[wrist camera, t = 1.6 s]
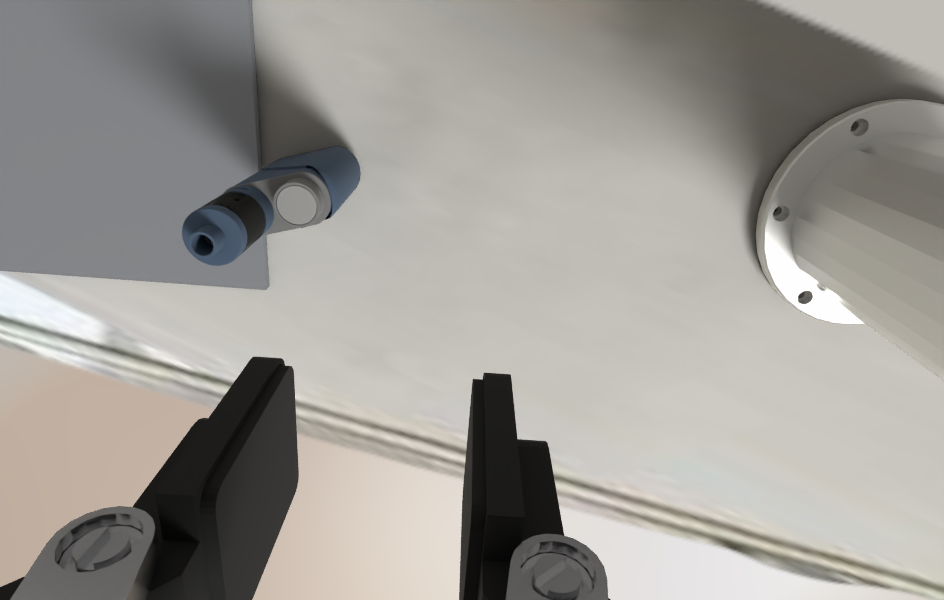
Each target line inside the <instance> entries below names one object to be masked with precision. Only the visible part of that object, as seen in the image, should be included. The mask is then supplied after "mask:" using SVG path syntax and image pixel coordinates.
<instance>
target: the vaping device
mask: <svg viewBox="0 0 944 600" xmlns="http://www.w3.org/2000/svg"><path fill="white" fill-rule="evenodd" d="M359 181H360V166H359V163H358V161H357V159H356V157H355V156H354V155H353V154H352V153H351V152H350V151H349V150H347V149H346V148H343V147H340V146H336V147H330V148H327V149H322V150H317V151H313V152H308V153H304V154H299V155H295V156H290V157H285V158H281V159H279V160H277V161H275V162H274V163H272V164H270V165H268V166H267V167H264V168H261V170H260V171H258V172H257V173H255V174H253V175H252V176H250V177H248V178H247V179H245V180H243V181H242V182H240V183H238V184H236V185H235V186H233V187H230V188H228V189H227V190H226V191H225V192H224V193H223V194H222V195H220V196H219V197H217V199H216V198H215V199H214V200H212V201H210V202H209V203H207V204H205V205H204V206H202V207H200V208H199V209H197V210H195V211H194V212H192V213H191V214H190V215H188V217H187V218H186V219H185V221H184V223H183V227H182V238H183V241H184V244H185V246H186V248H187V249H188V251H189V252H190V253H191V254H192V255H193V256H194V257H195V258H196V259H197V260H199V261H201V262H203V263H205V264H208V265H212V266H223V265H227V264H229V263H231V262H233V261H234V260H235V259H237V258H238V257H239V256H240V255H241V254H242V253H243V252H244V251H245V250H247V249H248V248H249V247H250V246H251V245H252V244H253V243H254V242H255V241H257V240H258V239H259V238H260V237H261V236H263V235H267V234H272V233H277V232H282V231H287V230H292V229H296V228H303V227H307V226H311V225H316V224H319V223H320V222H322V221H323V220H325V219H328V218H330V217H331V216H332V215H333V214H334V213H335V212H336V211H337V210H338V209H339V208H340V206H341V205H342V204H343V203H344V202H345V200H346V199H347V198H348V197H349V196H350V194H351V193H352V192H353V191H354V190H355V188H356V187H357V185H358V183H359ZM210 203H212V204H210ZM250 244H251V245H250ZM246 248H247V249H246Z"/></svg>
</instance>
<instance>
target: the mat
mask: <svg viewBox="0 0 944 600" xmlns="http://www.w3.org/2000/svg"><path fill="white" fill-rule="evenodd" d="M261 168H262V160H261V144H260V128H259V112H258V96H257V80H256V64H255V48H254V32H253V16H252V0H0V271H12V272H26V273H39V274H53V275H67V276H81V277H94V278H108V279H122V280H136V281H150V282H163V283H177V284H191V285H205V286H219V287H232V288H246V289H260V290H266V289H267V288H268V287H269V273H268V257H267V241H266V235H263V236H261V237H260V238H259V239H258V240H257V241H255V242H254V243H253V244H252V245H251V244H250V245H251V246H250V247H249V248H248V249H247V248H246V249H247V250H245V251H244V252H243V253H242V254H241V255H240V256H239V257H238V258H237V259H235V260H234V261H233V262H231V263H229V264H227V265H223V266H212V265H208V264H205V263H203V262H201V261H199V260H197V259H196V258H195V257H194V256H193V255H192V254H191V253H190V252H189V251H188V249H187V248H186V246H185V244H184V241H183V238H182V227H183V223H184V221H185V219H186V218H187V217H188V215H190V214H191V213H192V212H194V211H195V210H197V209H199V208H200V207H202V206H204V205H205V204H207V203H209V202H210V201H212V200H214V199H215V198H216V199H217V197H219V196H220V195H222V194H223V193H224V192H225V191H226V190H227V189H228V188H230V187H233V186H235V185H236V184H238V183H240V182H242V181H243V180H245V179H247V178H248V177H250V176H252V175H253V174H255V173H257V172H258V171H260V170H261ZM210 204H212V203H210Z"/></svg>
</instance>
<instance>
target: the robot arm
mask: <svg viewBox="0 0 944 600" xmlns="http://www.w3.org/2000/svg"><path fill="white" fill-rule="evenodd" d="M853 123H854V126H853V128H852V129H851V126H852V124H853ZM777 207H778V210H777V211H776V212H775V213H773V212H774V210H775V209H776V208H777ZM756 244H757V254H758V257H759V261H760V264H761V267H762V270H763V272H764V274H765V276H766V277H767V279H768V281H769V283H770V284H771V286H772V287H773V288H774V289H775V290H776V291H777V292H778V293H779V294H780V295H781V297H782V298H783V299H784V300H786V301H787V302H788V303H789V304H791V305H792V306H793V307H794V308H796V309H797V310H799V311H801V312H803V313H805V314H807V315H809V316H811V317H813V318H815V319H819V320H823V321H827V322H831V323H838V324H852V325H854V324H864V323H865V324H866V325H867V326H869V327H870V328H871V329H873V330H874V331H876V332H877V333H878V334H880V335H881V336H882V337H884V338H885V339H886V340H888V341H889V342H891V343H892V344H893V345H895V346H896V347H897V348H899V349H900V350H902V351H903V352H904V353H906V354H907V355H908V356H910V357H911V358H913V359H914V360H915V361H917V362H918V363H919V364H921V365H922V366H924V367H925V368H926V369H928V370H929V371H930V372H932V373H933V374H935V375H936V376H937V377H939V378H940V379H941V380H943V381H944V104H939V103H934V102H928V101H923V100H912V99H892V100H883V101H876V102H872V103H869V104H866V105H862V106H859V107H856V108H853V109H850V110H848V111H846V112H844V113H842V114H840V115H838V116H836V117H834V118H832V119H830V120H829V121H827V122H826V123H824V124H823V125H822V126H820V127H819V128H817V129H816V130H815V131H813V132H812V133H810V134H809V135H808V136H807V137H806V138H805V139H804V140H803V141H802V142H801V143H800V144H799V145H797V146H796V147H795V148H794V149H793V150H792V151H791V152H790V154H789V155H788V156H787V158H786V159H785V160H784V162H783V163H782V164H781V166H780V167H779V168H778V170H777V171H776V172H775V174H774V176H773V178H772V180H771V182H770V184H769V186H768V188H767V190H766V192H765V194H764V197H763V200H762V203H761V207H760V210H759V213H758V220H757V228H756ZM297 483H298V453H297V431H296V410H295V389H294V371H293V368H292V366H285V364H284V360H283V359H281V358H267V357H253V358H251V360H250V361H249V362H248V364H247V365H246V367H245V368H244V369H243V371H242V372H241V374H240V375H239V376H238V378H237V379H236V381H235V382H234V383H233V385H232V386H231V388H230V389H229V390H228V392H227V393H226V395H225V396H224V397H223V399H222V400H221V402H220V403H219V404H218V406H217V407H216V409H215V410H214V411H213V413H212V414H211V416H210V417H209V418H202V419H199V420H198V421H197V422H196V423H195V424H194V425H193V426H192V427H191V429H190V430H189V432H188V433H187V434H186V436H185V437H184V438H183V440H182V441H181V442H180V444H179V445H178V446H177V448H176V449H175V450H174V452H173V453H172V454H171V456H170V457H169V458H168V460H167V461H166V463H165V464H164V465H163V467H162V468H161V469H160V471H159V472H158V473H157V475H156V476H155V477H154V479H153V480H152V481H151V483H150V484H149V486H148V487H147V488H146V489H145V491H144V492H143V493H142V495H141V496H140V498H139V499H138V500H137V502H136V503H135V504H134V506H133V507H124V506H117V507H110V508H103V509H100V510H97V511H94V512H90V513H87V514H85V515H83V516H81V517H79V518H77V519H75V520H73V521H71V522H70V523H68V524H67V525H65V526H64V527H63V528H61V529H60V530H59V531H57V532H56V533H55V535H54V536H53V537H52V538H51V539H50V540H49V542H48V543H47V544H46V546H45V547H44V548H43V550H42V551H41V553H40V555H39V556H38V558H37V559H36V561H35V562H34V564H33V565H32V567H31V568H30V570H29V571H28V573H27V574H26V576H25V577H22V578H20V579H18V580H16V581H14V582H11V583H9V584H7V585H4V586H2V587H0V600H252V599H253V596H254V594H255V591H256V589H257V586H258V584H259V581H260V579H261V576H262V574H263V572H264V569H265V567H266V564H267V562H268V559H269V557H270V554H271V552H272V549H273V547H274V544H275V542H276V539H277V537H278V534H279V532H280V529H281V527H282V524H283V522H284V520H285V517H286V514H287V512H288V509H289V507H290V505H291V502H292V500H293V497H294V495H295V492H296V489H297ZM461 532H462V533H461V562H460V592H459V600H610V599H609V598H608V588H607V577H606V573H605V569H604V566H603V564H602V563H601V561H600V560H599V558H598V557H597V555H596V554H595V553H594V552H593V551H591V550H590V549H589V548H588V547H587V546H586V545H584V544H582V543H580V542H579V541H577V540H575V539H573V538H570V537H566V536H564V532H563V527H562V521H561V515H560V510H559V504H558V498H557V493H556V487H555V481H554V475H553V470H552V464H551V458H550V453H549V447H548V444H547V442H546V441H534V440H519V439H517V432H516V422H515V412H514V402H513V392H512V382H511V375H509V374H495V373H484V375H483V380H479V379H473V383H472V394H471V406H470V417H469V428H468V440H467V451H466V462H465V474H464V487H463V501H462V531H461Z"/></svg>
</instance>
